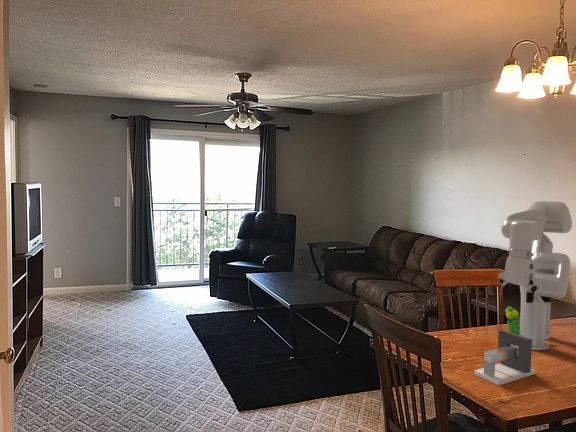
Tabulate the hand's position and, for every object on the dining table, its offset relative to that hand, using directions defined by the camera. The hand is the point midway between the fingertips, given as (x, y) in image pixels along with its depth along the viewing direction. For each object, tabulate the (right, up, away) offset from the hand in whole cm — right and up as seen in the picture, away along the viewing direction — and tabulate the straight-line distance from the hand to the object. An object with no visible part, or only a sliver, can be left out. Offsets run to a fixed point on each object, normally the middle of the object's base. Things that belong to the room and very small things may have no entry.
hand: (517, 299), depth 171 cm
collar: (-3, -24, -3) cm, 24 cm away
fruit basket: (+21, -23, +44) cm, 54 cm away
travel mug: (+29, -24, +36) cm, 52 cm away
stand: (-7, -26, -5) cm, 28 cm away
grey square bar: (-7, -20, -6) cm, 22 cm away
